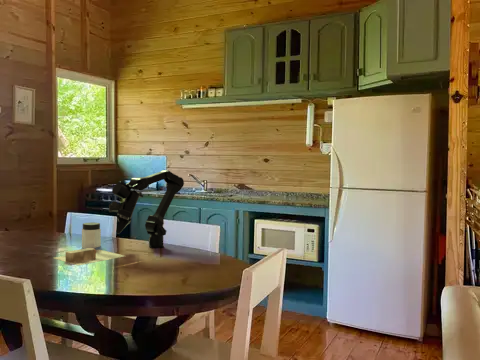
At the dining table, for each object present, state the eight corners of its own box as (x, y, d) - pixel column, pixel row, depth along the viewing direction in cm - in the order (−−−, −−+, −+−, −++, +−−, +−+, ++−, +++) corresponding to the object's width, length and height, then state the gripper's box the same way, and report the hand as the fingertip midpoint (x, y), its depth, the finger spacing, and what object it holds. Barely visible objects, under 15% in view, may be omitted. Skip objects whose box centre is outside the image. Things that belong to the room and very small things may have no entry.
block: (90, 247, 199) (65, 251, 190) (95, 248, 197) (70, 253, 187) (90, 256, 199) (65, 261, 190) (95, 257, 197) (70, 262, 187)
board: (99, 250, 214) (100, 249, 214) (126, 257, 202) (126, 256, 202) (52, 259, 195) (52, 257, 195) (78, 266, 183) (78, 265, 183)
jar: (102, 248, 221) (103, 224, 220) (86, 250, 216) (86, 225, 215) (95, 245, 228) (96, 221, 227) (79, 247, 223) (79, 223, 222)
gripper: (114, 200, 220) (101, 230, 215) (113, 192, 202) (100, 225, 198) (135, 208, 222) (124, 238, 217) (137, 201, 204) (124, 233, 200)
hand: (117, 233), depth 208 cm, fingers closed
